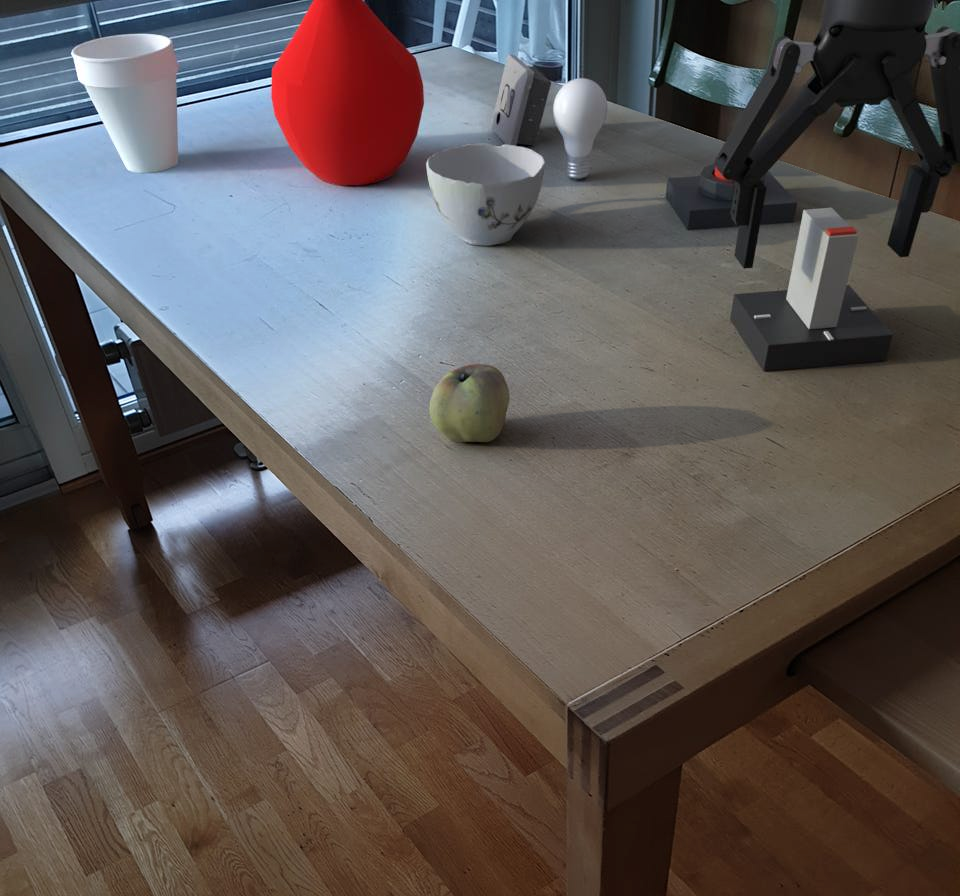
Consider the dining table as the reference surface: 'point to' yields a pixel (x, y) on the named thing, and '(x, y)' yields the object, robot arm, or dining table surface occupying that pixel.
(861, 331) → the dial panel
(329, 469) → the dining table surface
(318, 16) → the vase
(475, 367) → the apple
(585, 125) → the lightbulb
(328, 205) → the dining table surface
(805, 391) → the dining table surface
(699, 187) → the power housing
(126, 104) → the cup
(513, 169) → the teacup
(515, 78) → the electrical switch
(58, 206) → the dining table surface
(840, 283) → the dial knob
